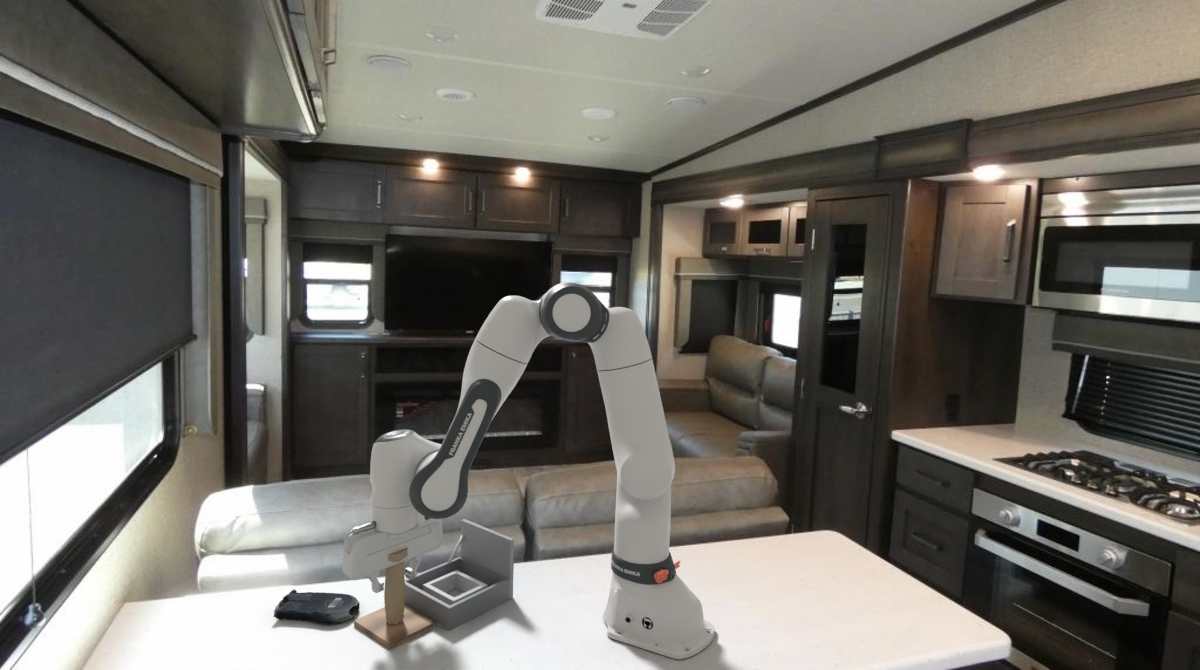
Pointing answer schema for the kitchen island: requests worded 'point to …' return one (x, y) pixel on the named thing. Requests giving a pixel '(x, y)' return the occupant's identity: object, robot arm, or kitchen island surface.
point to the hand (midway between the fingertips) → (394, 584)
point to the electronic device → (316, 607)
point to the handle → (395, 588)
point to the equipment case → (465, 578)
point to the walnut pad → (394, 626)
